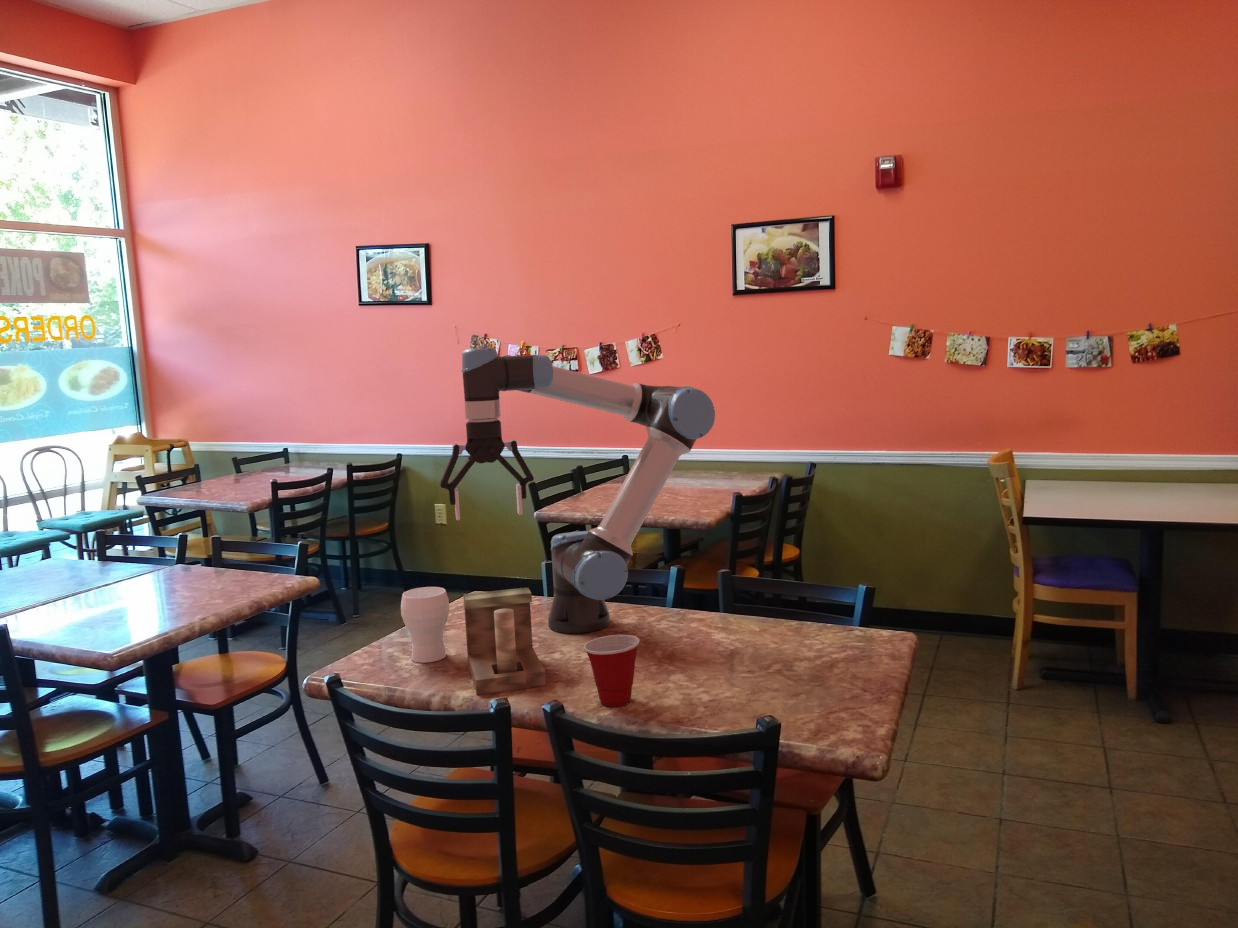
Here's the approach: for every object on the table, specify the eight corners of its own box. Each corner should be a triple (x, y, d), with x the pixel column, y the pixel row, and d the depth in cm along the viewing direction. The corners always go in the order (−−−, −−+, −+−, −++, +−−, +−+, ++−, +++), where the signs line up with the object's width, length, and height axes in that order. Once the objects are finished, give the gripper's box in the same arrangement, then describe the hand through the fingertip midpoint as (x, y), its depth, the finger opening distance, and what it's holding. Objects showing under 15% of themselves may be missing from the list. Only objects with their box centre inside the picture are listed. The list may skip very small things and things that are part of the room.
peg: (516, 677, 192) (512, 607, 190) (518, 683, 188) (514, 612, 186) (497, 679, 191) (492, 609, 189) (499, 686, 187) (495, 614, 185)
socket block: (531, 657, 204) (527, 587, 202) (545, 685, 187) (541, 608, 185) (468, 665, 201) (463, 594, 199) (476, 694, 183) (471, 616, 181)
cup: (441, 665, 201) (437, 599, 199) (396, 664, 203) (391, 598, 201) (459, 649, 211) (455, 586, 210) (416, 648, 214) (411, 585, 212)
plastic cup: (597, 688, 184) (594, 630, 182) (649, 693, 180) (646, 633, 179) (577, 709, 174) (574, 648, 172) (632, 714, 170) (629, 652, 169)
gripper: (537, 415, 206) (542, 508, 209) (423, 422, 200) (430, 518, 203) (543, 417, 199) (548, 514, 202) (425, 425, 193) (432, 524, 195)
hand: (489, 516), depth 202 cm, fingers open, 13 cm apart
